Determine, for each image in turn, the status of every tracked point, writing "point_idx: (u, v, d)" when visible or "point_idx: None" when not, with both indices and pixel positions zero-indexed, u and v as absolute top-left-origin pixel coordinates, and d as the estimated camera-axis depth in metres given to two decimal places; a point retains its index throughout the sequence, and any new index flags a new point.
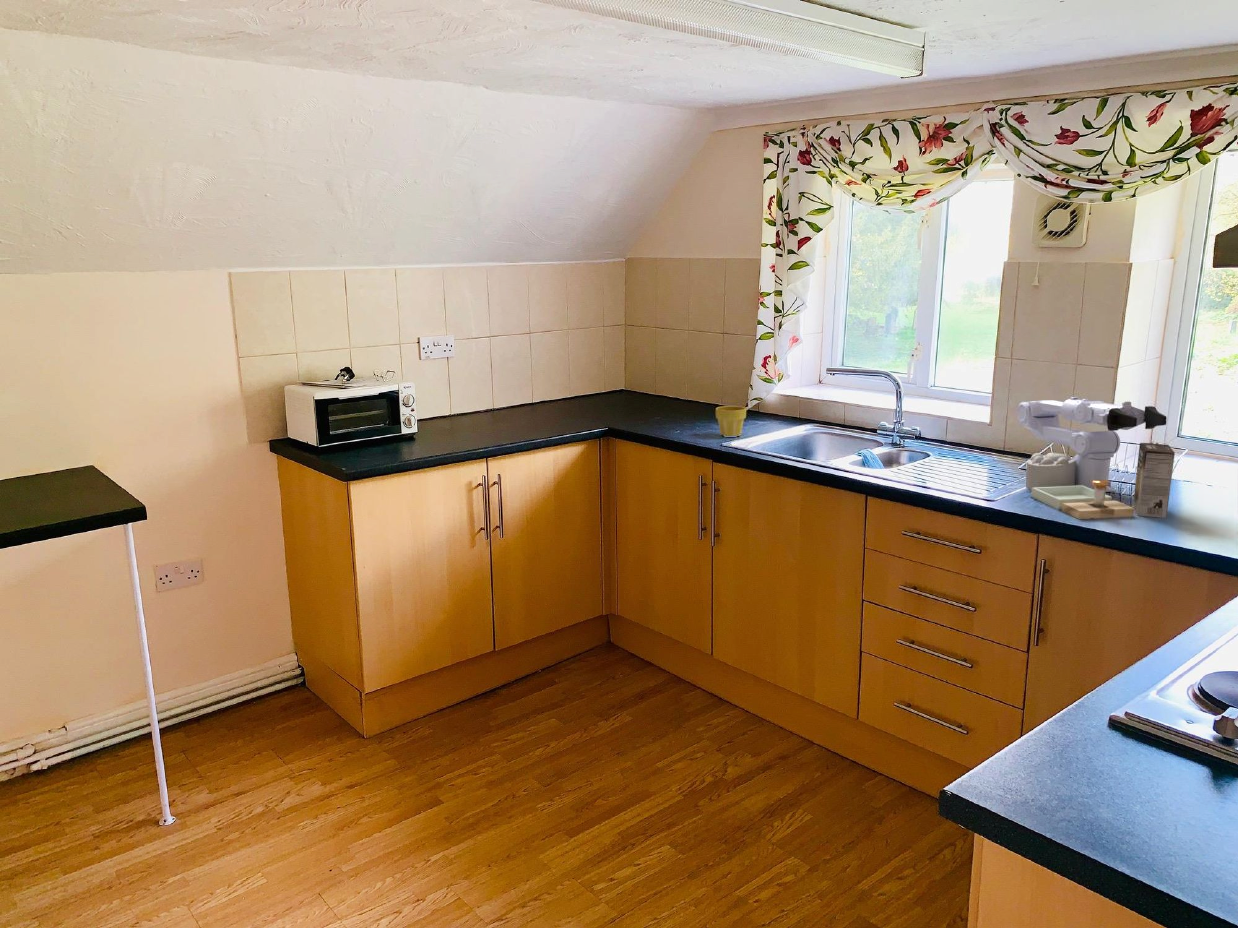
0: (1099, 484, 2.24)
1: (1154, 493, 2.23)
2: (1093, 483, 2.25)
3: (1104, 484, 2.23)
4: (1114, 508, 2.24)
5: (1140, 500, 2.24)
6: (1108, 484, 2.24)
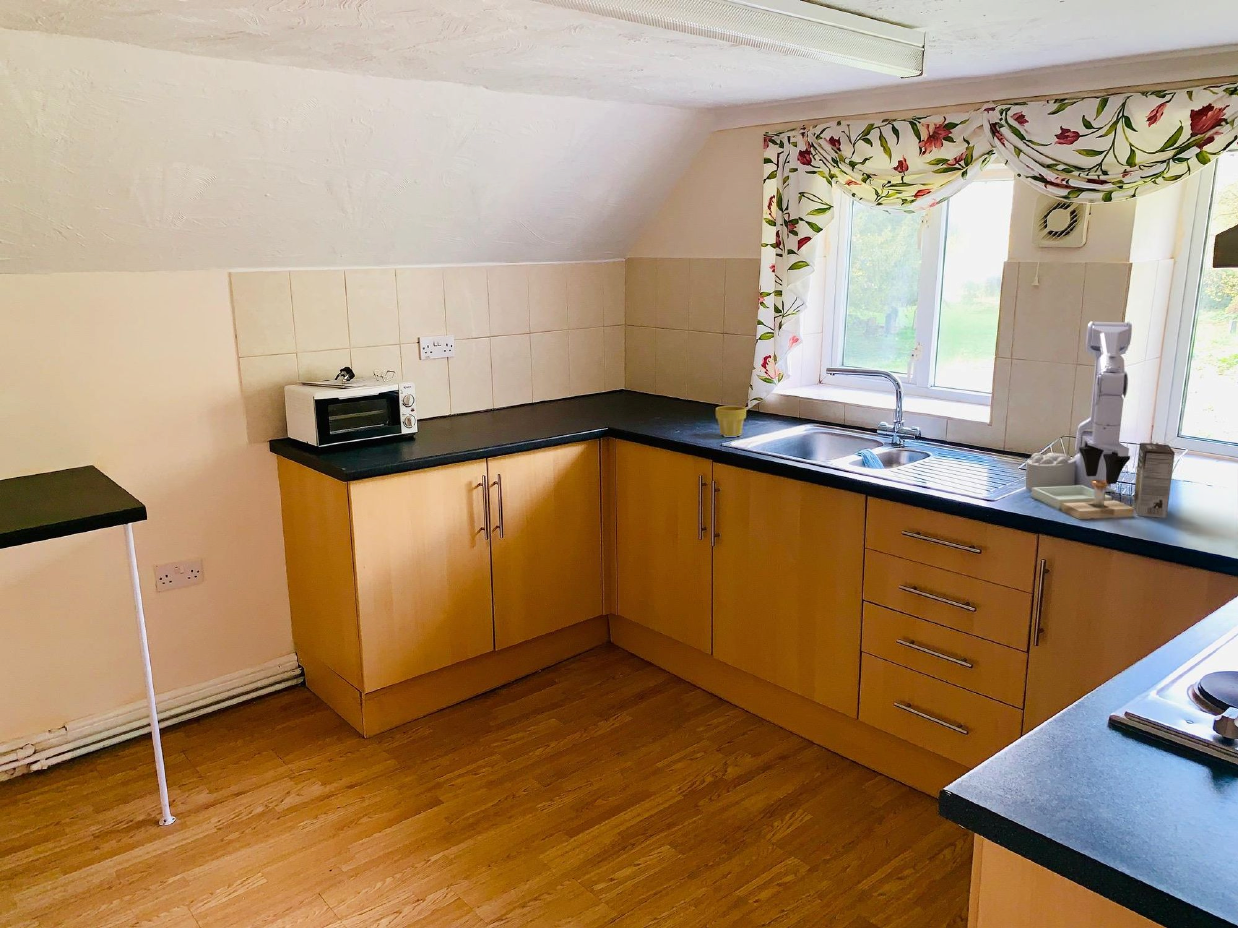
0: (1099, 484, 2.24)
1: (1154, 493, 2.23)
2: (1093, 483, 2.25)
3: (1104, 484, 2.23)
4: (1114, 508, 2.24)
5: (1140, 500, 2.24)
6: (1108, 484, 2.24)
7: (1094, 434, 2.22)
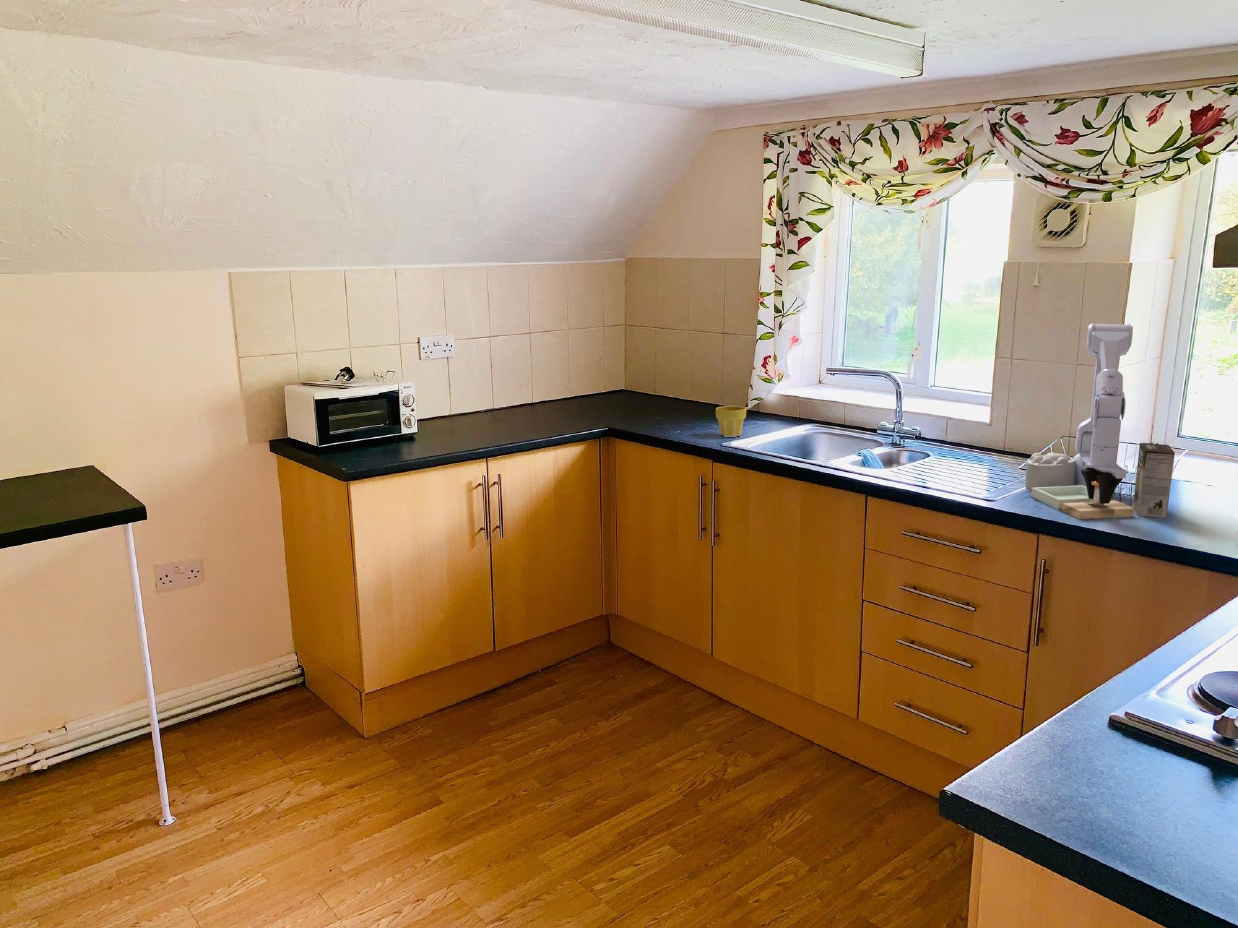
0: None
1: (1154, 493, 2.23)
2: (1093, 483, 2.25)
3: None
4: (1114, 508, 2.24)
5: (1140, 500, 2.24)
6: None
7: (1092, 456, 2.24)
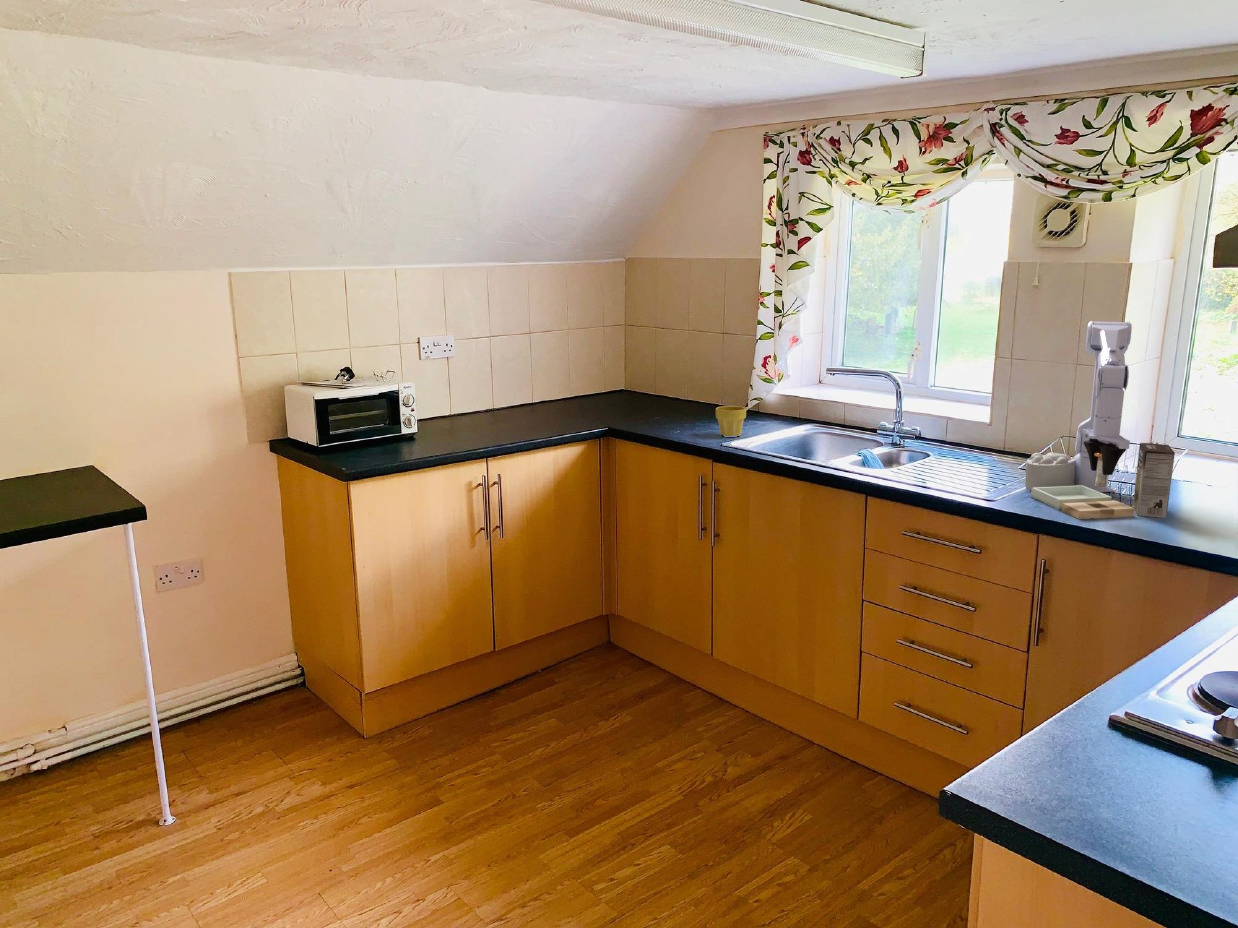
0: None
1: (1154, 493, 2.23)
2: (1096, 454, 2.23)
3: None
4: (1114, 508, 2.24)
5: (1140, 500, 2.24)
6: None
7: (1095, 427, 2.22)
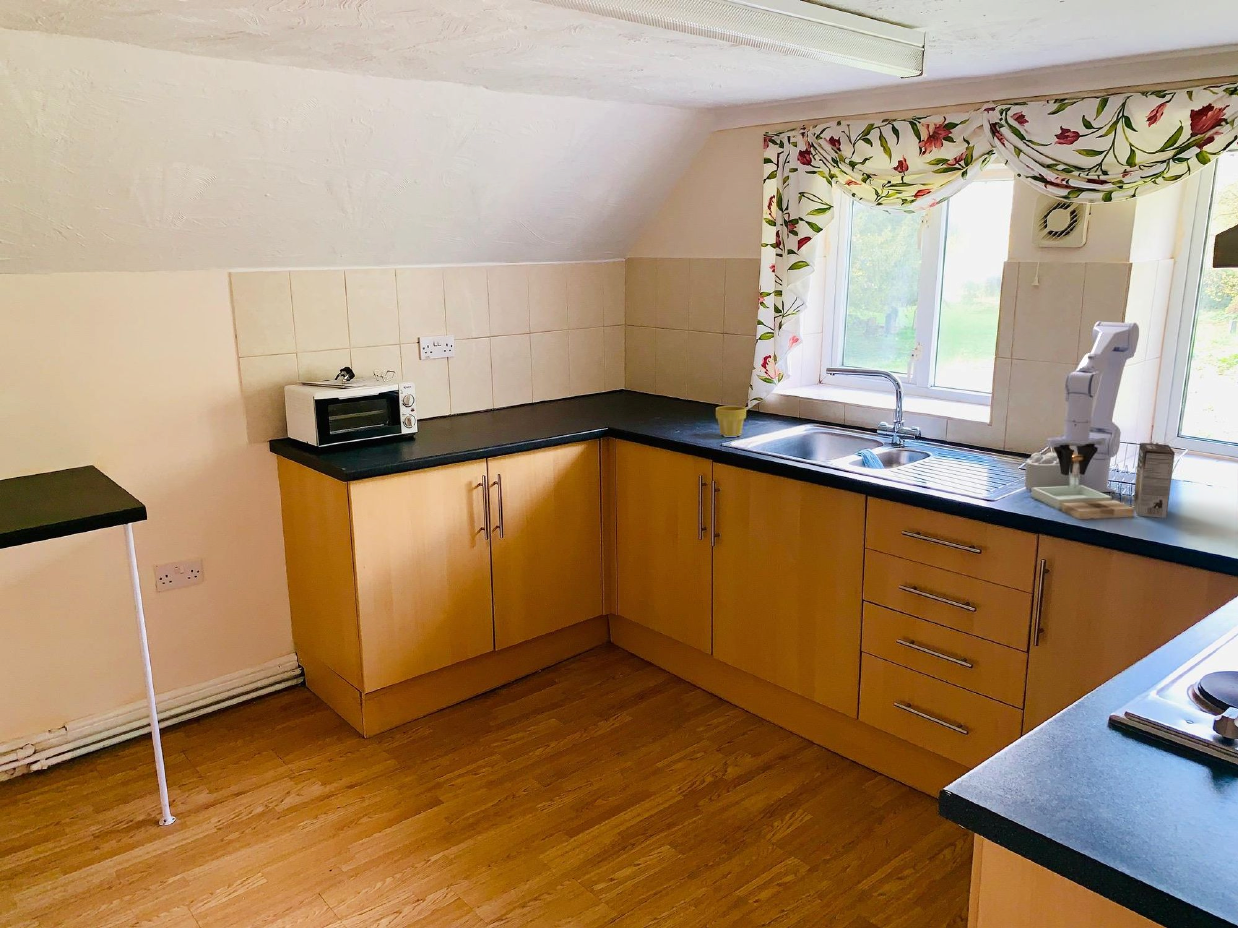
0: (1083, 457, 2.34)
1: (1154, 493, 2.23)
2: (1080, 458, 2.33)
3: None
4: (1114, 508, 2.24)
5: (1140, 500, 2.24)
6: None
7: (1083, 432, 2.31)
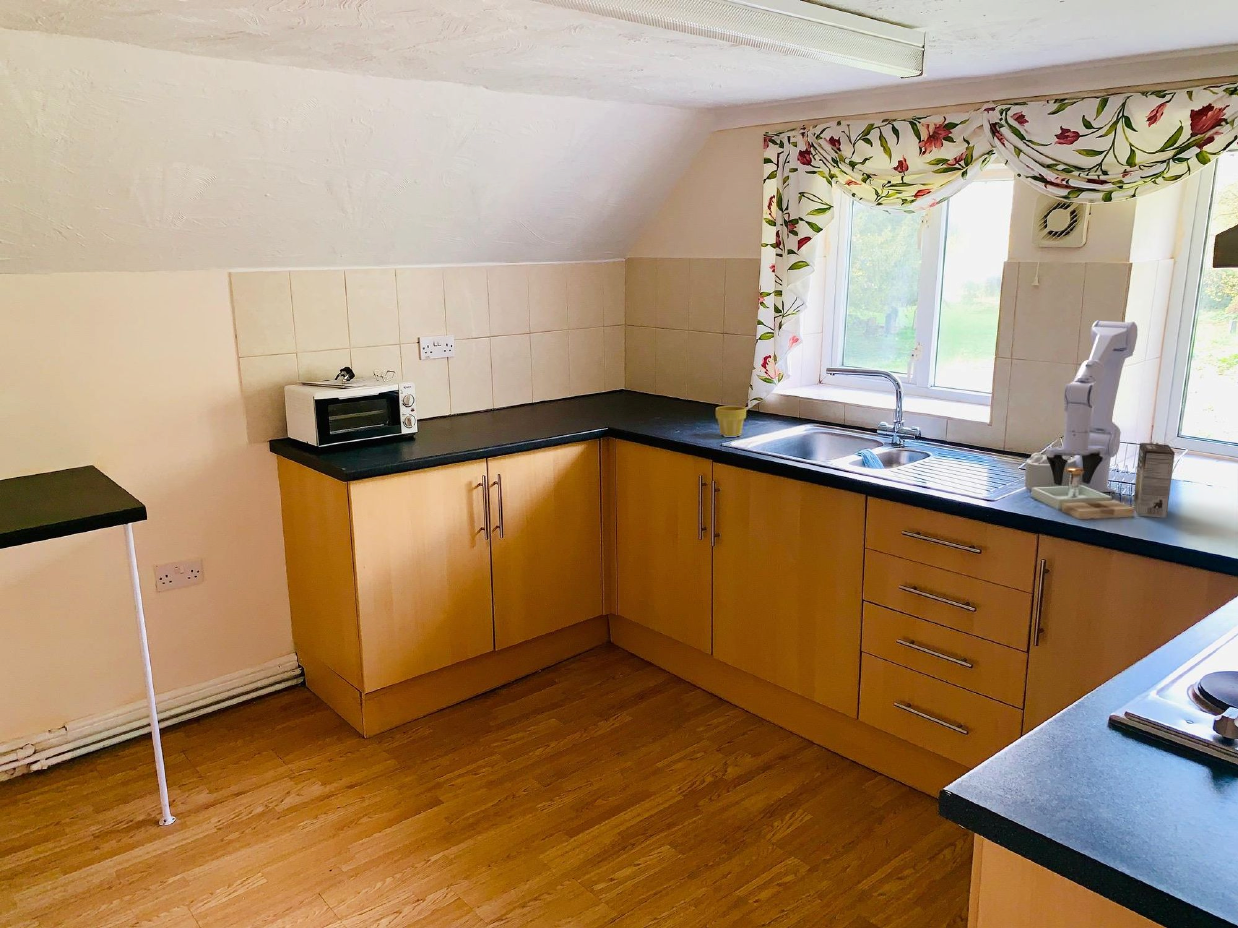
0: (1084, 470, 2.34)
1: (1154, 493, 2.23)
2: (1081, 472, 2.34)
3: None
4: (1114, 508, 2.24)
5: (1140, 500, 2.24)
6: None
7: (1082, 442, 2.31)
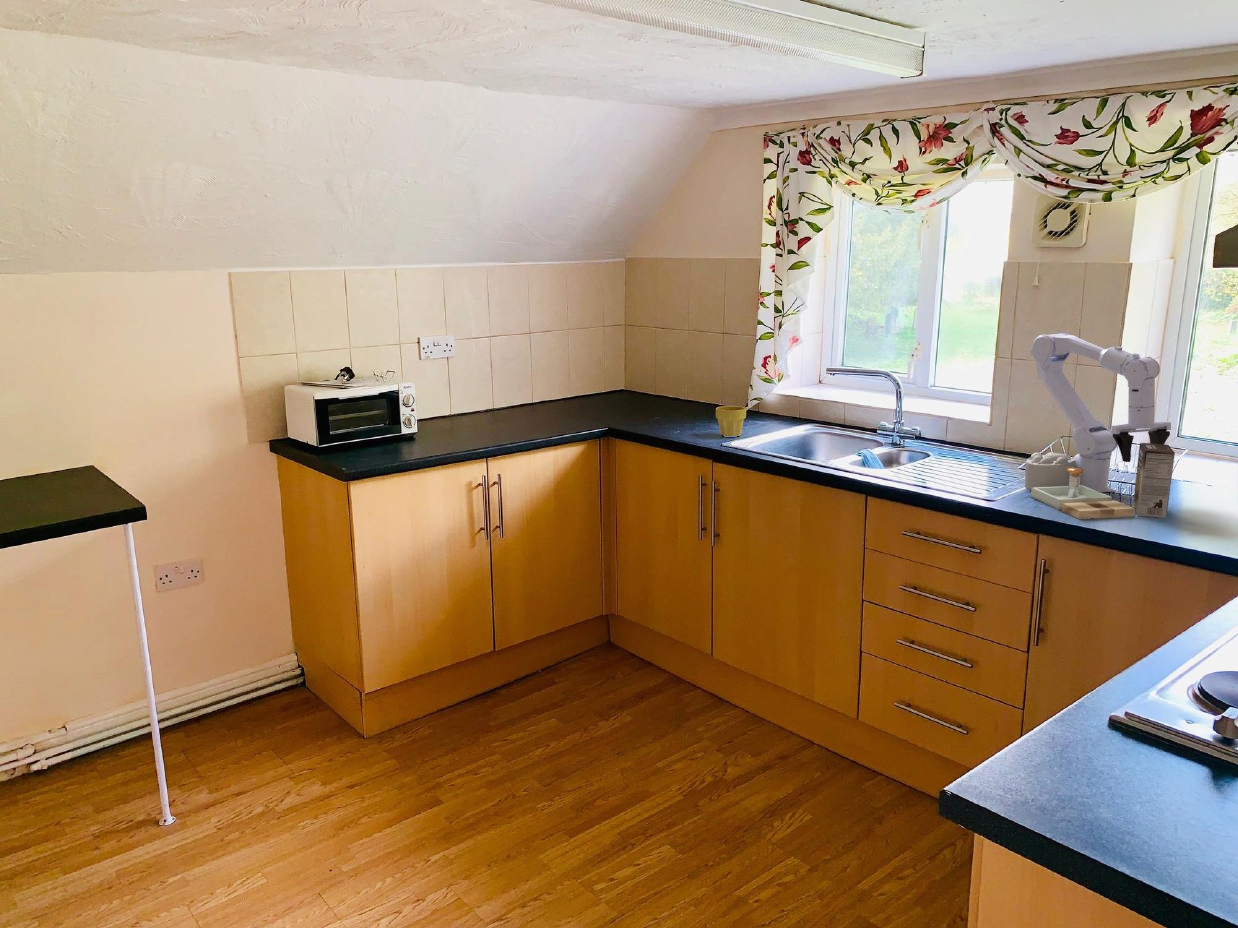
0: (1084, 470, 2.34)
1: (1154, 493, 2.23)
2: (1081, 472, 2.34)
3: None
4: (1114, 508, 2.24)
5: (1140, 500, 2.24)
6: None
7: (1147, 417, 2.33)
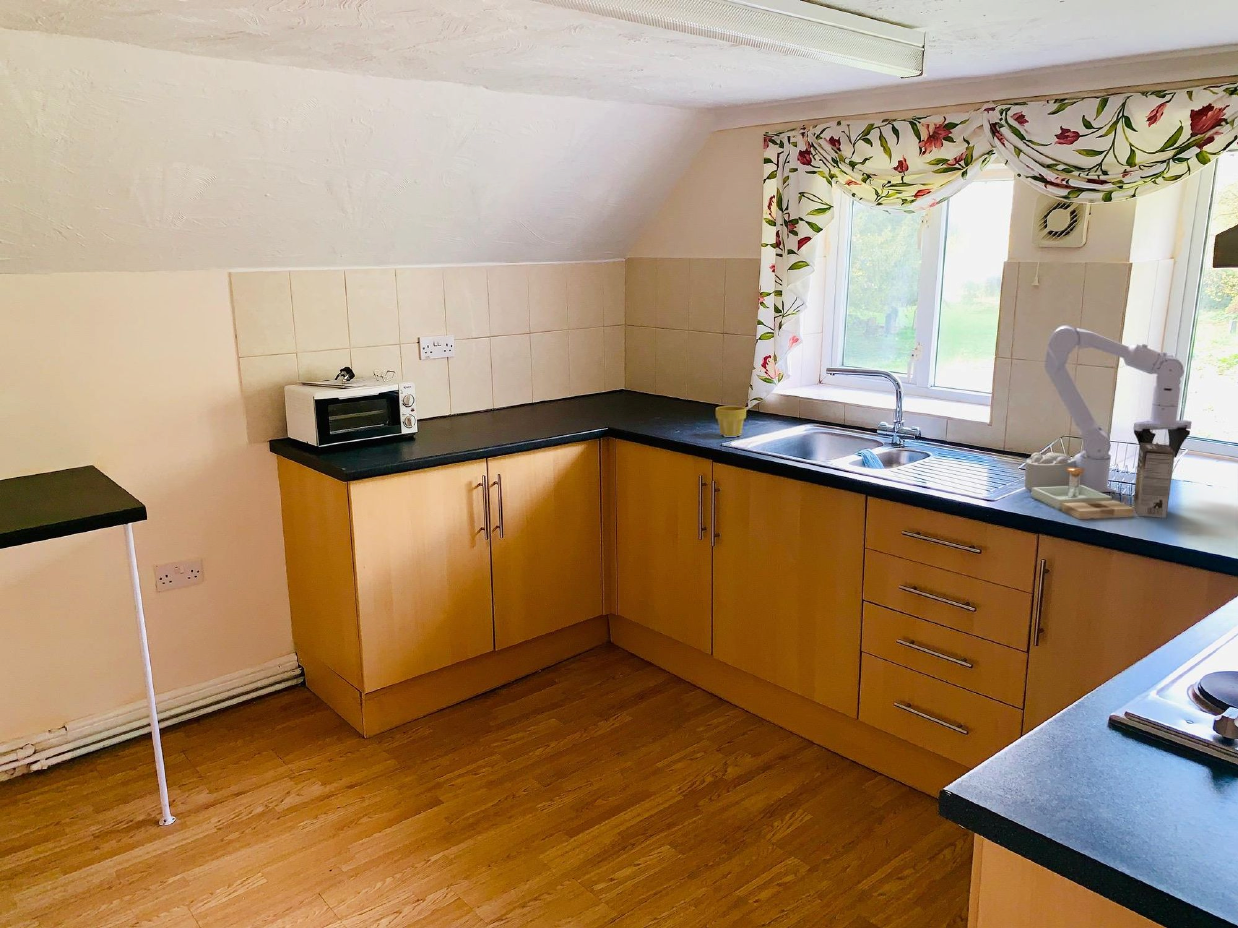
0: (1084, 471, 2.34)
1: (1154, 493, 2.23)
2: (1081, 472, 2.34)
3: None
4: (1114, 508, 2.24)
5: (1140, 500, 2.24)
6: None
7: (1171, 416, 2.36)
